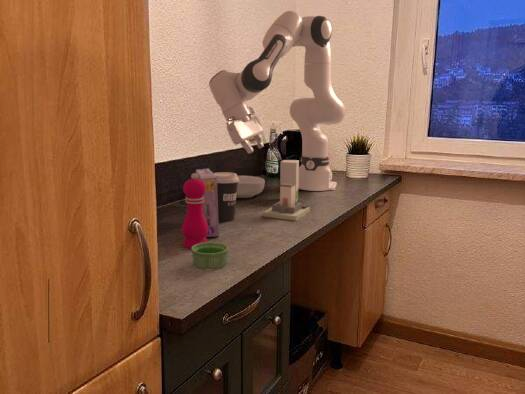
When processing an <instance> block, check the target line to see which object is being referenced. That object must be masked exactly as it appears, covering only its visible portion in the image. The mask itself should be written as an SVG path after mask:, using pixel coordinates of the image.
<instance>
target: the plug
mask: <svg viewBox="0 0 525 394" xmlns="http://www.w3.org/2000/svg"><path fill="white" fill-rule="evenodd" d="M279 186H280V187H279V189H280V190H279V191H280V192H279V201H280V205H281V206H289V207H293V206H295V184H294V183H283V184H280V183H279Z"/></svg>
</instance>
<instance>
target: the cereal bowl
mask: <svg viewBox="0 0 525 394" xmlns="http://www.w3.org/2000/svg"><path fill="white" fill-rule="evenodd" d="M237 177H238V178H239V182H238V185H237V195H236V198H239V199H249V198H253V197H254V196H255V195H256V196H257V195H259V194H261V192H263V190H264V188H265V185H266V184H265V183H266V181H265V179H264V178H262V177H260V176H259V177H258V176H253V175H237Z"/></svg>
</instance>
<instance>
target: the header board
mask: <svg viewBox="0 0 525 394" xmlns="http://www.w3.org/2000/svg"><path fill="white" fill-rule="evenodd" d="M309 212H311V207H309V205H308V204H303V203H302V202H297V201H296V202H295V206H293V207H289V206H281V205H280V200H279V201H277V202H276V203H274V204H272V205H271V207H270V208H268V209H266V210H264V211H263V212H262V217H265V218H272V219H278V220H280V219H281V220H287V221H288V220H289V221H295V222H296V221H298V220H300V219H301V218H303V217H304V216H305V215H307V214H309Z"/></svg>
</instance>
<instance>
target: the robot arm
mask: <svg viewBox="0 0 525 394" xmlns="http://www.w3.org/2000/svg"><path fill="white" fill-rule="evenodd" d="M332 34H333V25H332V23H331V21H330V19H329V18H328V17H327V16H323V15H316V16H313V15H309V16H308V15H307V16H303V17H302V16H300V15H299V13H297V12H296V11H293V10H287V11H284V12H283V13H282V14H281V15H279V17H277V18H276V19H275V20H274V21H273V23H272V24H271V25H270V26H269V28H268V29H267V31H266V33H265V35H264V36H263V39H262V43H261V44H262V47H263V50H262V52H261V53H260V56H259V57H258V58H257V59H254V60H251V61H250V62H248V63H247V64H246V66H245V67H244V68H243V69H242V70H241V72H231V71H227V70H226V69H222V70H220V71H218V72H217V73H215V75H214V76H213V77H211V79H210V80H209V83H208V86H209V90H210V91H211V94H212V96H213V98H214V100H215V101H216V103H217V105H218V106H219V107H220V109H221V113H222V116H223V117H224V119H225V120H226V123H225V124H226V130H227V132H228V135H229V137H230V139H231V141H232V143H233V144H234V145H235V146H237V145H239V144H240V145H241V147H242V148H243V149H244V150H245V151H246V153H247V154H252V153H254V148H253V146H251V145H250V144H249V140H251V139H253V138H254V140H255V141H256V146H257V148H258V149H259V150H260V149H261V148H263V147H265V145H264V143H263V138H262V136H261V135H262V134H263V133H264V128H263V127H264V126H262V123H261V121H260V118H259V117H258V116H257V114H256V113H257V112H256V111H257V110H256V109H255V108H254V107H251V106H249V105H247V103H246V102H247V101H250V100H251V101H252V100H253V99H254V98H255V97H256V96H258V95H259V94H260V93H261V92H263V91H264V90H265V89H267V88H268V87H269V86H270V84H271V83H272V78H273V72H274V69H275V67H276V65H277V64H278V63H279V61H280V59H282V58H283V57H284V56H286V55H287V54H288V53H289V52H290V50H292V48H293V47H304V48H305V52H304V66H303V67H304V68H303V69H304V71H303V72H304V73H303V77H304V78H303V82H304V85H306V87H308V88H309V89H310V90H311V91H312V93H313V97H300V98H296V99H294V100H293V101H292V102H291V104H290V106H289V114H290V117H291V119H292V120H293V121H294V122H295V124H296V125H297V126H298V127H297V128H299V131H300V134H301V139H302V140H301V142H302V143H301V144H302V148H301V149H302V151H301V154H302V155H300V164H301V165H299V183H298V190H304V191H313V192H319V191H320V192H322V191H335V190H336V187H337V184H338V183H337V182H336V181H333V171H332V169H331V167H330V166H329V164H330V155H329V154H328V153H329V138H328V137H327V135H326V134H325V133H323V132H322V131H321V128H320V125H326V126H327V125H328V126H331V125H336V124H340V123H341V122H342V121H343V119H345V118H344V117H345V115H346V107H345V104H344V103H343V101H341V99H339V98H338V96H337V95H336V93H335V91H334V89H333V86H332V84H333V83H332V53H331V45H330V40H331V38H332Z"/></svg>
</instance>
